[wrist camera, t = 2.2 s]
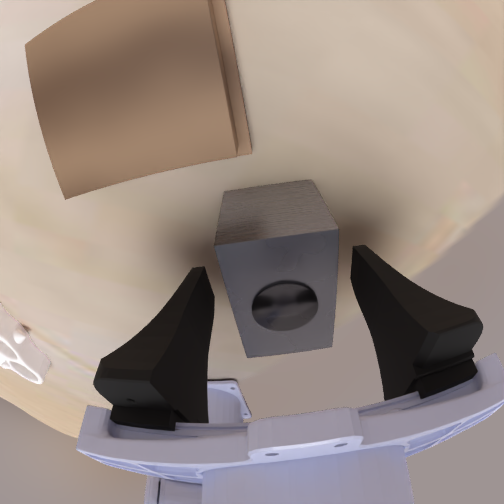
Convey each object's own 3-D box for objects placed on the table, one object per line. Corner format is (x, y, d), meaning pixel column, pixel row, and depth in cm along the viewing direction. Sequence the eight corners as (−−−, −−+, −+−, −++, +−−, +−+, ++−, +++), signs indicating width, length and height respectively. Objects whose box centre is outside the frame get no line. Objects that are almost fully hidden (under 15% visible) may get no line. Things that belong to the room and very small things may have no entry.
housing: (310, 178, 14) (340, 231, 9) (315, 283, 18) (332, 349, 13) (224, 190, 14) (213, 248, 10) (247, 292, 18) (247, 360, 14)
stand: (251, 148, 12) (252, 167, 10) (89, 186, 13) (62, 211, 11) (219, -24, 7) (212, -49, 5) (52, 41, 8) (17, 42, 6)
